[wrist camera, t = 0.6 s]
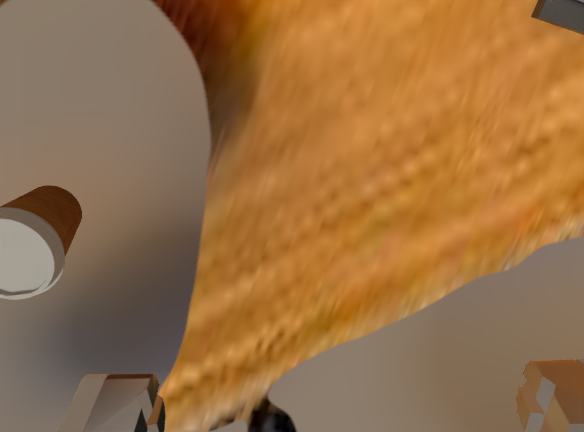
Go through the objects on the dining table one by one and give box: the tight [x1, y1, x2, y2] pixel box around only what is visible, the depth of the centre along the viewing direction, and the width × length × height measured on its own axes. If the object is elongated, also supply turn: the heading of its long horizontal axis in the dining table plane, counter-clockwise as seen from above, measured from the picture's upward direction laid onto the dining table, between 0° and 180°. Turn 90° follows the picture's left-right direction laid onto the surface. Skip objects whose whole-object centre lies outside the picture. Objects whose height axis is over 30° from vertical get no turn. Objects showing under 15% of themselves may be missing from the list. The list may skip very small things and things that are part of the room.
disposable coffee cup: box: [0, 186, 82, 300], centre depth 52 cm, size 10×10×12 cm
